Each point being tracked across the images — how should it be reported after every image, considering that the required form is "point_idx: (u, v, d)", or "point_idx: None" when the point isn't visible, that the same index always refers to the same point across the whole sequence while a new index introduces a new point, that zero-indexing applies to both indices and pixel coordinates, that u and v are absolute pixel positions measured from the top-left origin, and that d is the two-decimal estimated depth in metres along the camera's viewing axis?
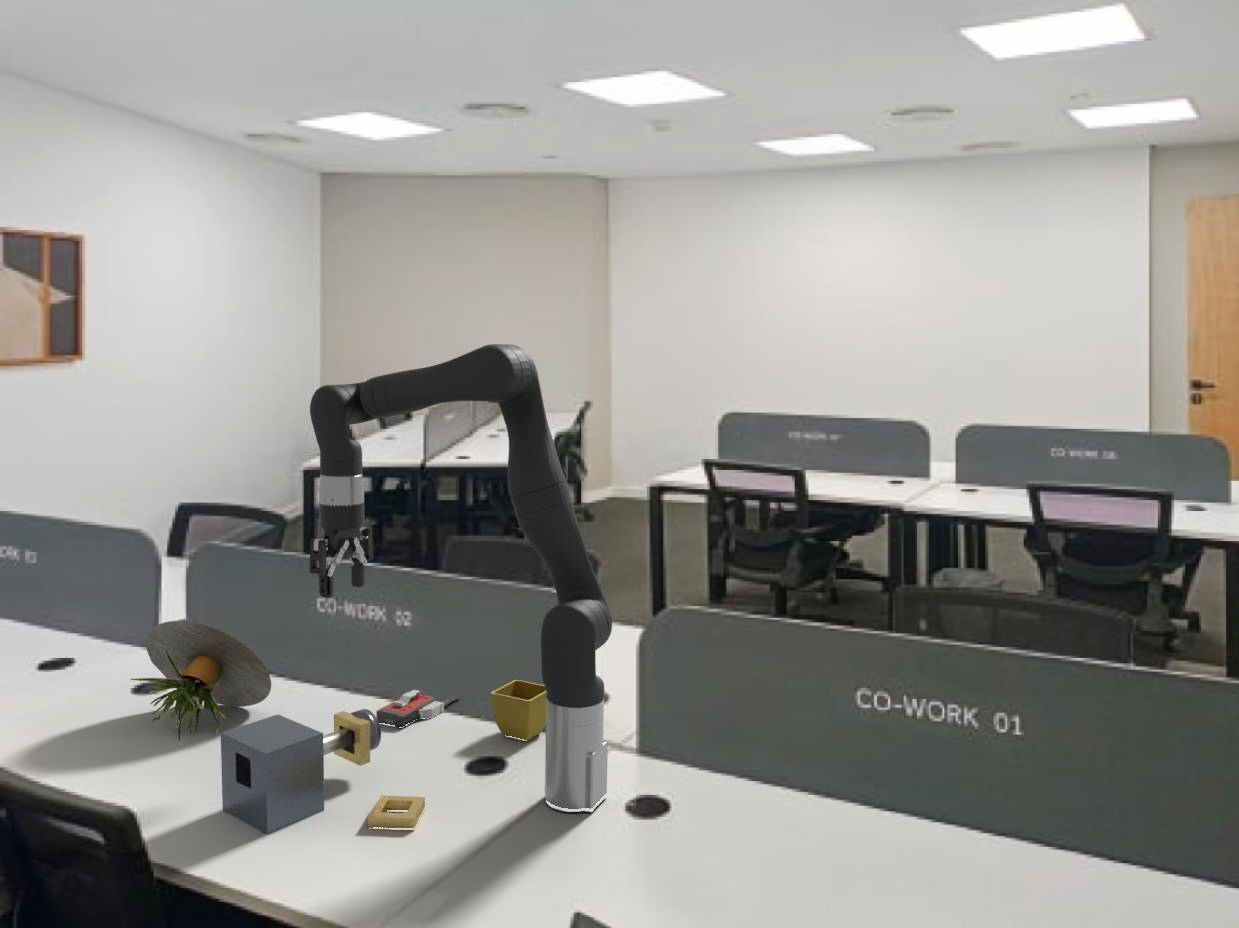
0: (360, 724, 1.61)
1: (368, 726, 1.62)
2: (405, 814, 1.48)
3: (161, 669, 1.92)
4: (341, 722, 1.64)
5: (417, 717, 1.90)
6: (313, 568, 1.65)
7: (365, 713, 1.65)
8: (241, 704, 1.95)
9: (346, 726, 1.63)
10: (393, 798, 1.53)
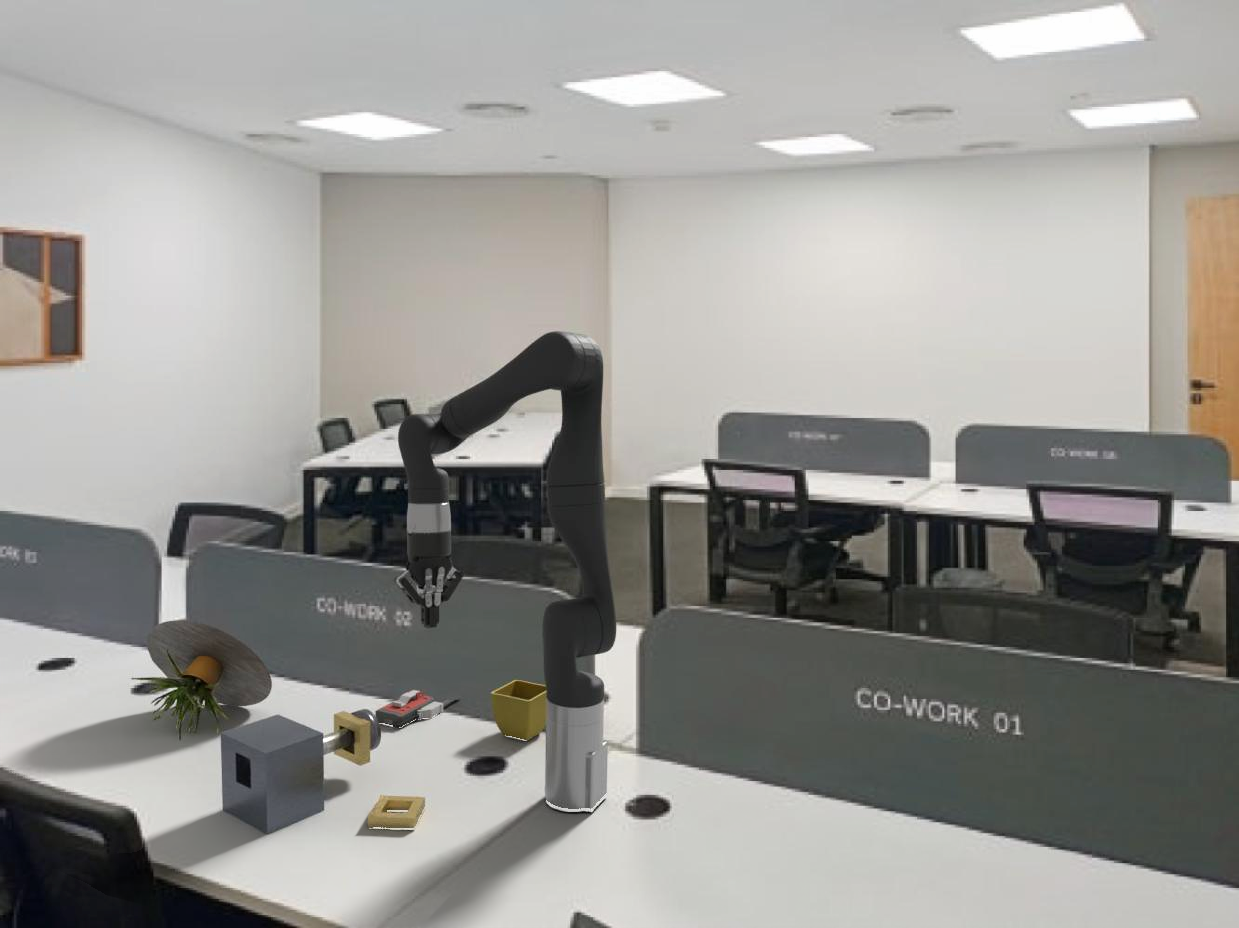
0: (360, 724, 1.61)
1: (368, 726, 1.62)
2: (405, 814, 1.48)
3: (162, 668, 1.92)
4: (341, 722, 1.64)
5: (416, 717, 1.89)
6: None
7: (365, 713, 1.65)
8: (242, 704, 1.95)
9: (346, 726, 1.63)
10: (393, 798, 1.53)
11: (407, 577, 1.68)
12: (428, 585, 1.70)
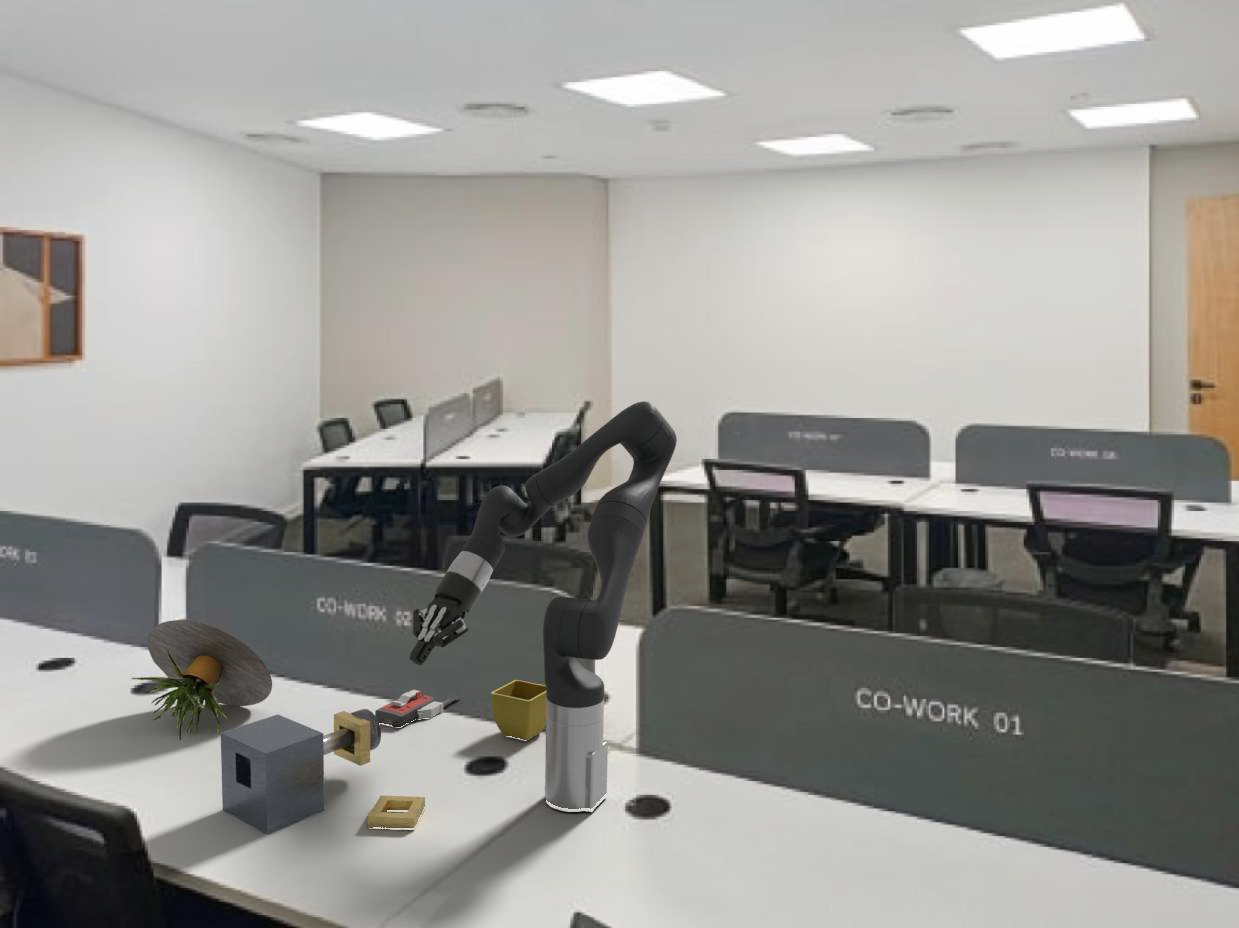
0: (360, 724, 1.61)
1: (368, 726, 1.62)
2: (405, 814, 1.48)
3: (163, 668, 1.93)
4: (341, 722, 1.64)
5: (416, 717, 1.89)
6: (440, 639, 1.74)
7: (365, 713, 1.65)
8: (242, 704, 1.95)
9: (346, 726, 1.63)
10: (393, 798, 1.53)
11: (423, 612, 1.80)
12: (427, 619, 1.77)
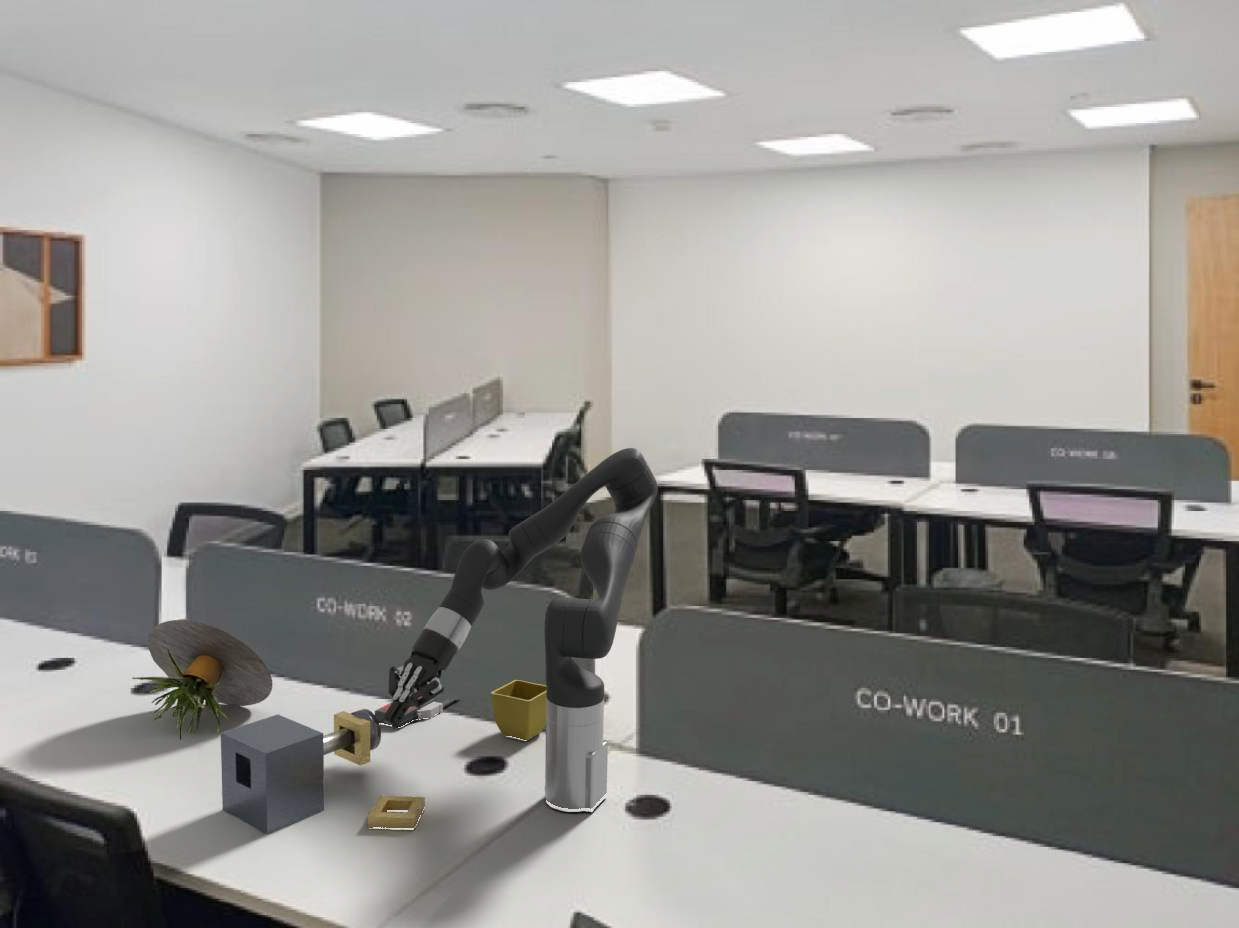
0: (360, 724, 1.61)
1: (368, 726, 1.62)
2: (405, 814, 1.48)
3: (163, 668, 1.93)
4: (341, 722, 1.64)
5: (415, 718, 1.89)
6: (415, 700, 1.70)
7: (365, 713, 1.65)
8: (242, 704, 1.95)
9: (346, 726, 1.63)
10: (393, 798, 1.53)
11: (400, 669, 1.77)
12: (403, 678, 1.73)
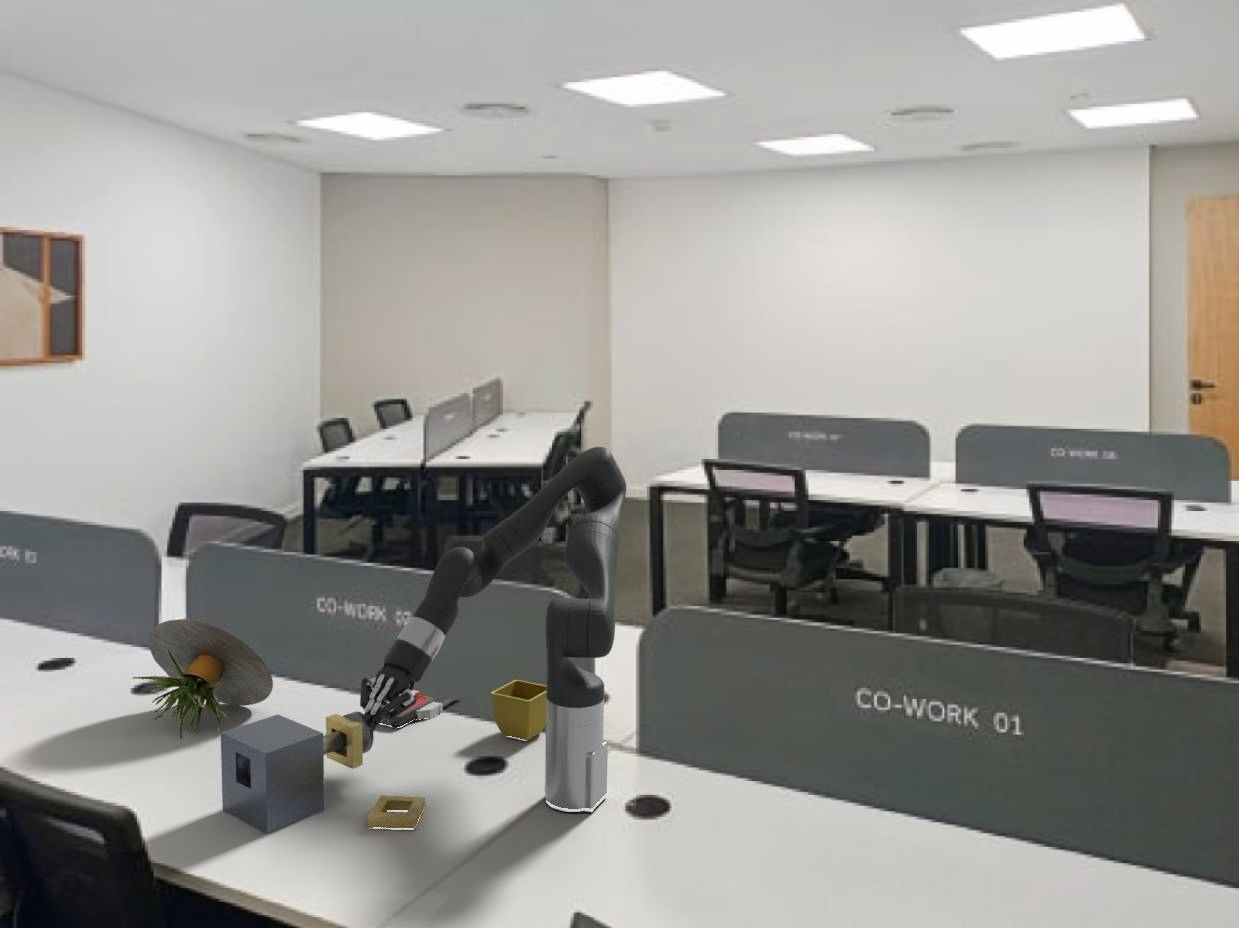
0: (352, 727, 1.60)
1: (360, 729, 1.61)
2: (405, 814, 1.48)
3: (164, 668, 1.93)
4: (333, 725, 1.62)
5: (414, 717, 1.89)
6: (387, 713, 1.66)
7: (357, 716, 1.63)
8: (243, 703, 1.95)
9: (338, 729, 1.62)
10: (393, 798, 1.53)
11: (372, 681, 1.73)
12: (374, 690, 1.69)
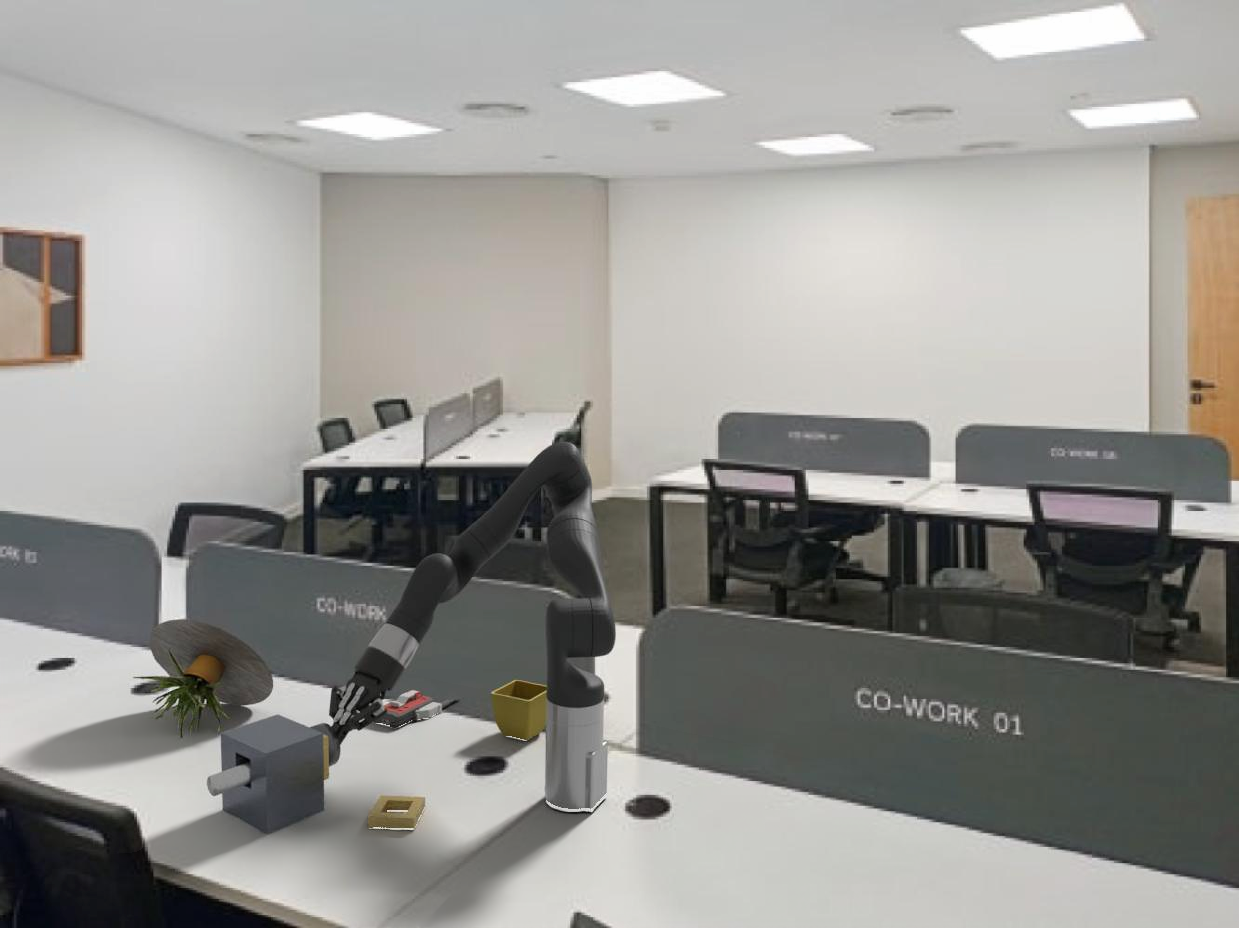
0: None
1: (326, 741, 1.55)
2: (405, 814, 1.48)
3: (165, 667, 1.93)
4: None
5: (413, 718, 1.89)
6: (356, 723, 1.61)
7: (324, 727, 1.58)
8: (244, 703, 1.95)
9: None
10: (393, 798, 1.53)
11: (342, 689, 1.68)
12: (344, 699, 1.64)
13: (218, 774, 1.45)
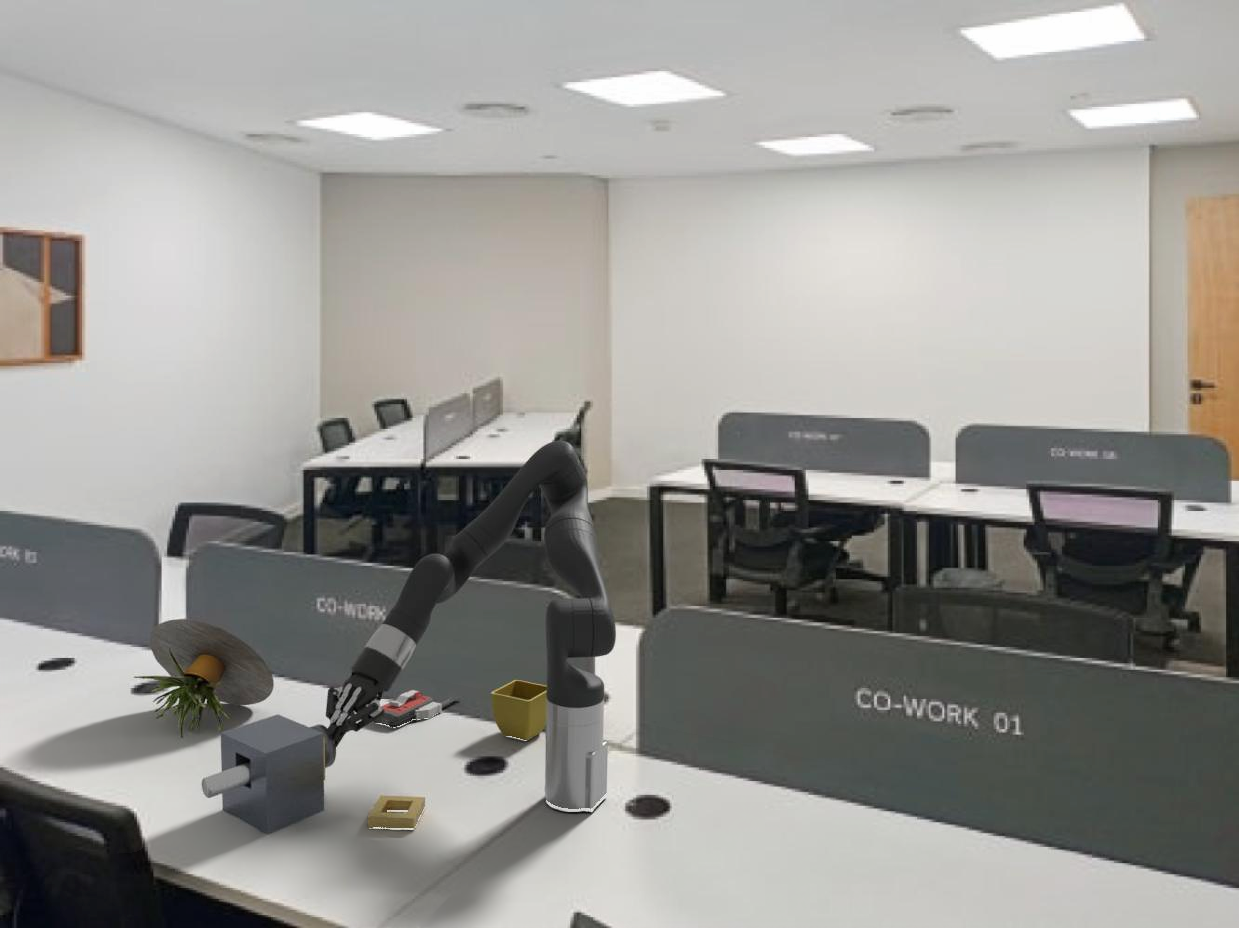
0: None
1: (323, 742, 1.55)
2: (405, 814, 1.48)
3: (165, 667, 1.93)
4: None
5: (413, 717, 1.89)
6: (353, 724, 1.60)
7: (319, 729, 1.57)
8: (244, 703, 1.96)
9: None
10: (393, 798, 1.53)
11: (339, 690, 1.67)
12: (341, 700, 1.63)
13: (213, 776, 1.44)
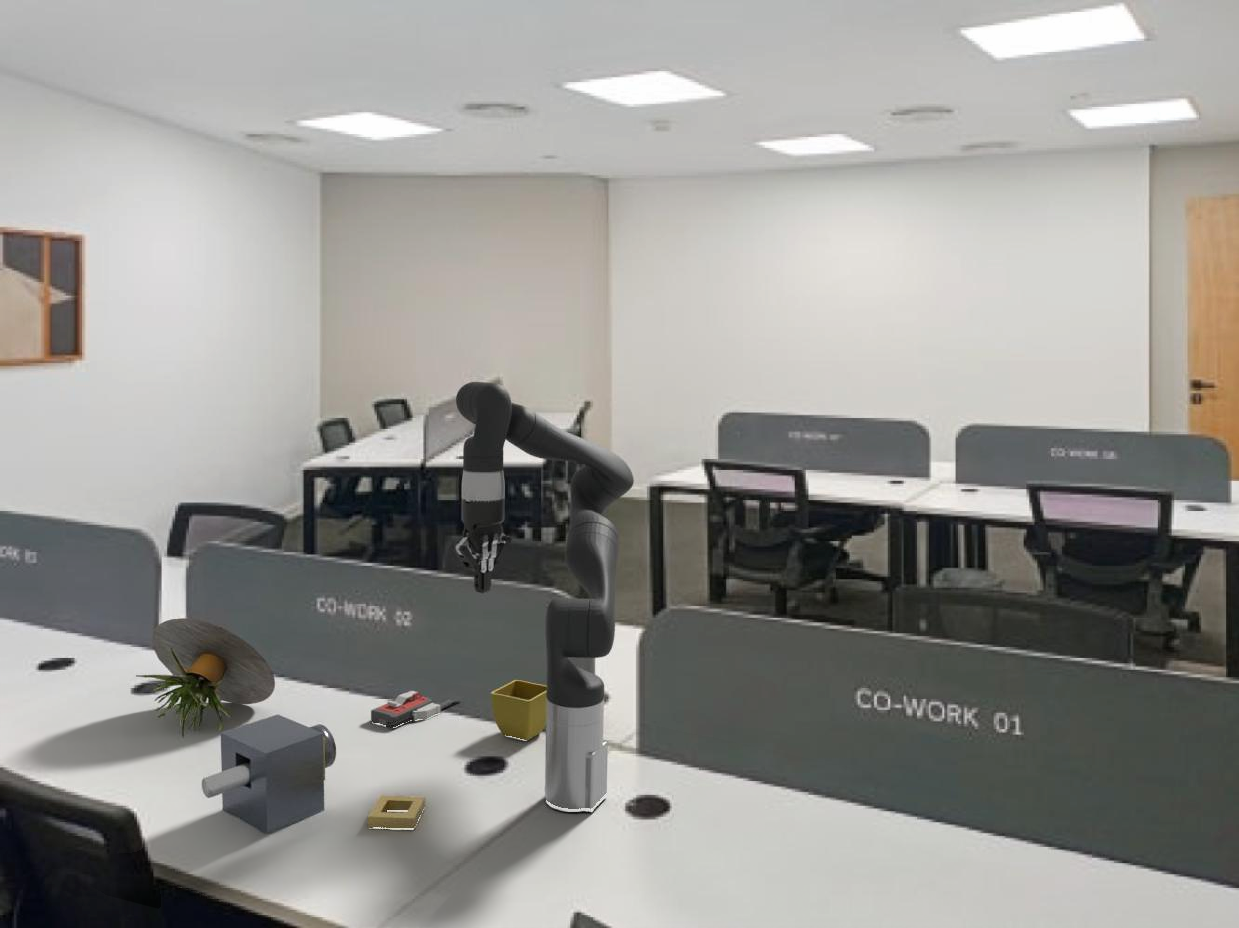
0: None
1: (323, 743, 1.55)
2: (405, 814, 1.48)
3: (168, 666, 1.94)
4: None
5: (411, 718, 1.89)
6: None
7: (319, 729, 1.57)
8: (246, 702, 1.96)
9: None
10: (393, 798, 1.53)
11: (466, 544, 1.70)
12: (484, 551, 1.72)
13: (213, 776, 1.44)
